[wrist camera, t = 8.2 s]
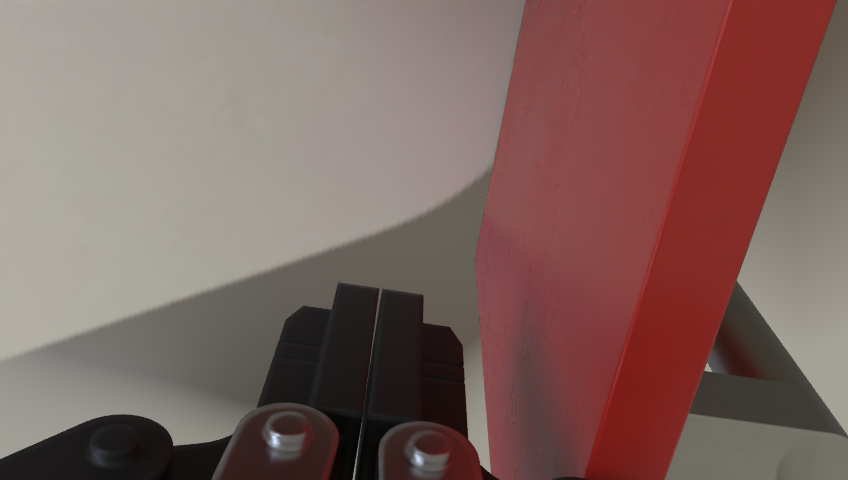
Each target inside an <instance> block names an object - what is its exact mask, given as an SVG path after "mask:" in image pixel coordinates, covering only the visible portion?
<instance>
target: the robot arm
mask: <svg viewBox="0 0 848 480" xmlns="http://www.w3.org/2000/svg"><path fill="white" fill-rule="evenodd" d="M378 295H379V288H373V287H367V286H359V285H353V284H346V283H340V282H338V286H337V290H336V294H335V298H334V302H333V307H332V310H329V309H322V308H315V307H308V306H303V307H301V308H300V309H299V310H298V311H296V312H295V313H294V314H292V315H291V316H290V317H289V318H287V319H286V321H285V324H284V327H283V330H282V333H281V336H280V340H279V342H278V345H277V348H276V351H275V356H274V357H273V360H272V363H271V366H270V369H269V372H268V375H267V378H266V381H265V384H264V387H263V390H262V393H261V396H260V399H259V402H258V405H257V408H256V409H254V410H252V411H251V412H249V413H248V414H247V415H245V416H244V417H243V418H242V419H241V420H240V422H239V423H238V425H237V427H236V429H235V431H234V433H233V434H232V435H230V436H228V437H226V438H223V439H220V440H216V441H212V442H206V443H199V444H189V445H178V446H173V442H172V438H171V436H170V434H169V433H168V431H167V430H166V429H165V428H164V427H163V426H161V425H160V424H158V423H157V422H155V421H153V420H151V419H148V418H144V417H141V416H135V415H124V414H123V415H109V416H103V417H99V418H95V419H92V420H89V421H87V422H84V423H82V424H79V425H77V426H75V427H73V428H70V429H68V430H66V431H63V432H61V433H59V434H57V435H55V436H52V437H50V438H48V439H45V440H43V441H41V442H38V443H36V444H34V445H32V446H29V447H27V448H25V449H22V450H20V451H18V452H16V453H13V454H11V455H9V456H7V457H4V458H2V459H0V480H352V479H353V472H354V466H355V459H356V454H357V448H358V442H359V435H360V442H359V450H358V457H357V465H356V474H355V480H500V479H498V478H496V477H495V476H493V475H492V474H490V473H489V472H488V471H486V470H485V469H484V468H483V467H482V466H481V465H480V461H479V457H478V453H477V451H476V449H475V448H474V446H473V445H472V444H471V443H470V441H469V440H468V428H467V412H466V395H465V384H464V380H465V378H464V368H463V364H464V362H463V347H462V344H461V343H460V341H459V340H458V338H457V337H456V335H455V334H454V333H453V331H452V330H451V328H450V327H446V326H439V325H432V324H426V323H423V295H421V294H415V293H408V292H401V291H395V290H388V289H382V294H381V300H380V306H379V313H378V319H377V325H376V331H375V338H374V344H373V350H372V357H371V363H370V355H371V348H372V341H373V332H374V325H375V317H376V310H377V303H378ZM369 364H370V369H369ZM368 371H369V376H368ZM367 379H368V382H367ZM366 386H367V389H366ZM365 394H366V396H365ZM364 402H365V404H364ZM363 409H364V411H363ZM362 416H363V419H362ZM361 423H362V428H361ZM360 429H361V434H360ZM552 480H589V479H584V478H580V477H560V478H555V479H552Z"/></svg>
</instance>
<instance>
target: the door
mask: <svg viewBox="0 0 848 480" xmlns="http://www.w3.org/2000/svg"><path fill="white" fill-rule="evenodd" d="M836 1H837V0H526V2H525V7H524V12H523V17H522V22H521V27H520V32H519V37H518V43H517V48H516V53H515V58H514V63H513V68H512V73H511V78H510V83H509V88H508V93H507V98H506V103H505V108H504V113H503V118H502V124H501V129H500V134H499V139H498V144H497V149H496V154H495V159H494V164H493V169H492V174H491V179H490V184H489V189H488V194H487V200H486V204H485V210H484V215H483V220H482V225H481V230H480V235H479V240H478V245H477V250H476V255H475V271H476V283H477V297H478V310H479V323H480V335H481V348H482V361H483V375H484V388H485V401H486V412H487V413H486V414H487V427H488V440H489V452H490V465H491V474H492V475H493V476H495V477H496V478H498V479H500V480H552V479H555V478H560V477H580V478H584V479H589V480H848V435H847V434H846V433H845V431H844V430H843V428H842V427H841V426H840V424H839V423H838V421H837V420H836V419H835V417H834V416H833V414H832V413H831V412H830V410H829V409H828V407H827V406H826V405H825V403H824V402H823V401H822V399H821V398H820V396H819V395H818V393H817V392H816V391H815V389H814V388H813V386H812V385H811V384H810V382H809V381H808V380H807V378H806V377H805V375H804V374H803V373H802V371H801V370H800V368H799V367H798V366H797V364H796V363H795V362H794V360H793V359H792V357H791V356H790V355H789V353H788V352H787V350H786V349H785V348H784V346H783V345H782V343H781V342H780V341H779V339H778V338H777V336H776V335H775V333H774V332H773V331H772V330H771V328H770V327H769V325H768V324H767V323H766V321H765V320H764V318H763V317H762V315H761V314H760V313H759V311H758V310H757V309H756V307H755V306H754V304H753V303H752V302H751V300H750V299H749V297H748V296H747V294H746V293H745V292H744V290H743V289H742V287H741V286H740V285H739V284H738V282H737V281H736V280H737V277H738V275H739V272H740V269H741V266H742V263H743V261H744V258H745V255H746V252H747V250H748V247H749V244H750V241H751V238H752V235H753V233H754V230H755V227H756V225H757V221H758V219H759V216H760V213H761V210H762V207H763V205H764V202H765V199H766V196H767V194H768V191H769V188H770V185H771V182H772V180H773V177H774V174H775V172H776V169H777V166H778V163H779V160H780V158H781V155H782V152H783V149H784V146H785V144H786V141H787V138H788V135H789V133H790V129H791V127H792V124H793V121H794V119H795V116H796V113H797V110H798V107H799V104H800V102H801V99H802V96H803V93H804V91H805V88H806V85H807V82H808V79H809V77H810V74H811V71H812V68H813V66H814V63H815V60H816V57H817V54H818V52H819V49H820V46H821V43H822V40H823V38H824V35H825V32H826V29H827V26H828V24H829V21H830V18H831V15H832V12H833V10H834V7H835V4H836ZM707 362H708V364H709V366H710V368H711V370H712V372H707V371H704V369H705V366H706V364H707Z"/></svg>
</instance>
